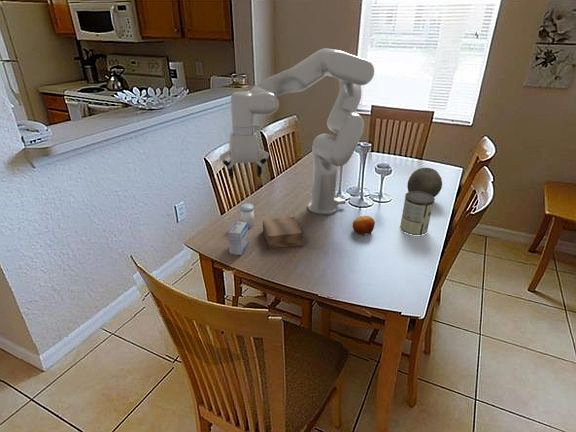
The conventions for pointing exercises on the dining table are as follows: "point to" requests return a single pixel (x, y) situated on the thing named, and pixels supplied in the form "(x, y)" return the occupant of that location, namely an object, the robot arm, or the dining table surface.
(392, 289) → the dining table surface
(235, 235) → the medicine box
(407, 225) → the coffee can
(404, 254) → the dining table surface
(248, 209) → the pill bottle
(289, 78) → the robot arm
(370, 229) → the fruit
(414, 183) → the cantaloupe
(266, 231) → the walnut block
